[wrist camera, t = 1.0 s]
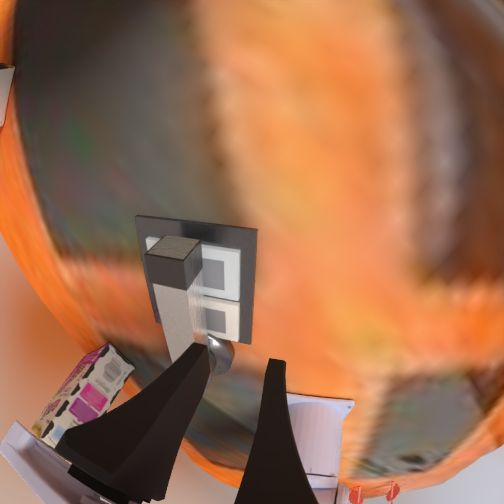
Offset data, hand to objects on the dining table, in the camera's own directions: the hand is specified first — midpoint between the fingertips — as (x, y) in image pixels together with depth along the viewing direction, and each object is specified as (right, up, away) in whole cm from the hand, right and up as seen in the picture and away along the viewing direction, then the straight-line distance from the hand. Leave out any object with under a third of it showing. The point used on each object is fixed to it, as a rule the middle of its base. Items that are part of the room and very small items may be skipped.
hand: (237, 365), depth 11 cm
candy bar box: (-20, -10, +21) cm, 31 cm away
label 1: (-4, +4, +8) cm, 10 cm away
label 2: (-4, 0, +11) cm, 11 cm away
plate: (-4, +2, +9) cm, 10 cm away
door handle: (-4, 0, +9) cm, 10 cm away
